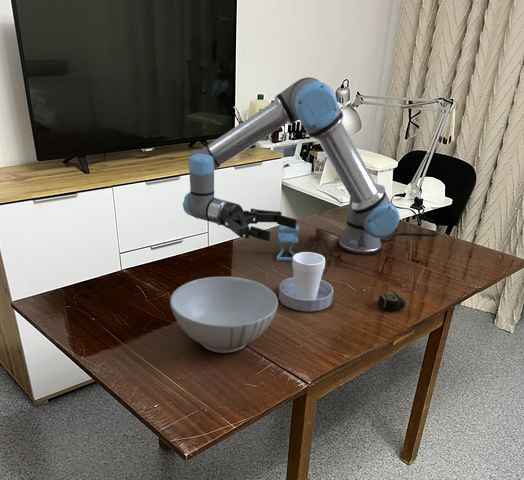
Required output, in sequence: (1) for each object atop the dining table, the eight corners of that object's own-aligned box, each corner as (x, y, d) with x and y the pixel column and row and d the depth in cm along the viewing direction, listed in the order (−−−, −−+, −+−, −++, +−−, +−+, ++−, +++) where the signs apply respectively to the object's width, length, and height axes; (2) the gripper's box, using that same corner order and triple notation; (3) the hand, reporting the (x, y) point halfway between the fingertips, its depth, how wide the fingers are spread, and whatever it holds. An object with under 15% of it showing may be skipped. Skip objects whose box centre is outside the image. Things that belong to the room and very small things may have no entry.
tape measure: (405, 311, 162) (407, 300, 159) (384, 313, 160) (386, 302, 158) (393, 300, 167) (395, 289, 165) (373, 303, 165) (375, 292, 163)
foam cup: (284, 294, 167) (287, 253, 160) (311, 289, 170) (315, 250, 163) (298, 308, 159) (302, 266, 152) (326, 303, 163) (331, 262, 156)
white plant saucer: (309, 284, 174) (310, 272, 172) (342, 304, 163) (344, 292, 161) (268, 295, 166) (269, 283, 164) (300, 317, 155) (301, 305, 153)
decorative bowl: (265, 376, 130) (268, 332, 124) (157, 361, 134) (154, 317, 127) (282, 322, 153) (285, 282, 146) (189, 310, 156) (187, 271, 150)
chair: (296, 251, 196) (299, 219, 190) (298, 260, 189) (301, 227, 183) (275, 250, 196) (277, 218, 190) (276, 260, 189) (278, 226, 183)
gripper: (250, 215, 180) (304, 231, 170) (199, 236, 163) (256, 254, 152) (250, 192, 176) (306, 207, 166) (198, 211, 159) (257, 229, 148)
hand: (283, 230), depth 159 cm, fingers open, 13 cm apart
